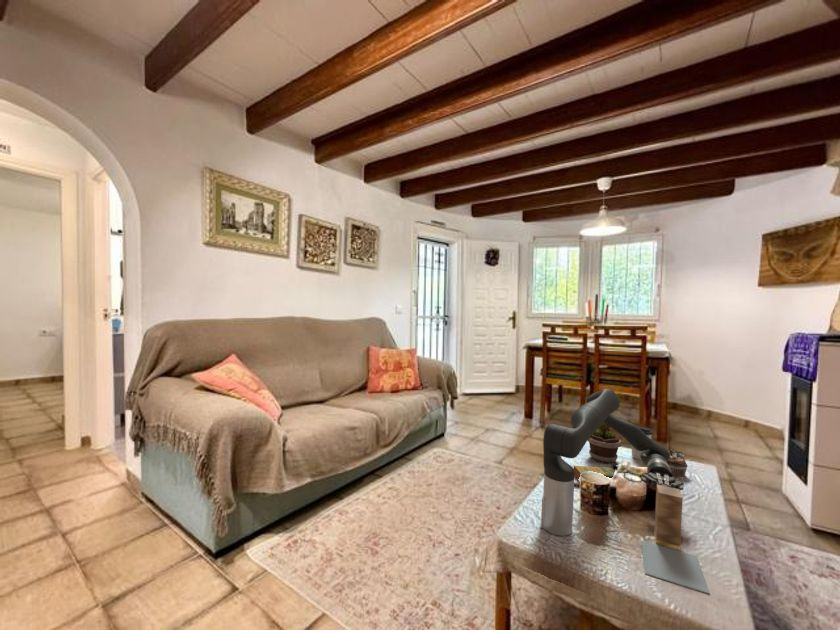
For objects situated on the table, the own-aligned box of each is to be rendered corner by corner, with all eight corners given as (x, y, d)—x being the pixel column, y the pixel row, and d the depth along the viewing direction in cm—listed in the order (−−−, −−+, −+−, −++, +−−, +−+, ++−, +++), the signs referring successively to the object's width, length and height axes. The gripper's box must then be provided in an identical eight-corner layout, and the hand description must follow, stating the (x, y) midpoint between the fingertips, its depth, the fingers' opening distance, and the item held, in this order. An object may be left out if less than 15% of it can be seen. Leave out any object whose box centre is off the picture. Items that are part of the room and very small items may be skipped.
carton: (572, 474, 159) (573, 464, 159) (610, 476, 158) (611, 466, 158) (580, 483, 151) (580, 473, 151) (620, 486, 150) (620, 475, 150)
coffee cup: (630, 451, 186) (631, 422, 185) (651, 456, 180) (653, 426, 180) (628, 457, 178) (629, 427, 178) (650, 462, 173) (651, 431, 173)
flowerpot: (619, 469, 165) (621, 425, 164) (582, 460, 173) (584, 418, 173) (622, 458, 177) (624, 417, 176) (587, 450, 185) (589, 411, 185)
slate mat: (645, 574, 100) (645, 573, 100) (641, 541, 114) (641, 540, 114) (709, 594, 93) (709, 593, 93) (696, 556, 107) (697, 555, 107)
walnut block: (656, 543, 113) (658, 492, 112) (654, 533, 118) (656, 484, 118) (679, 550, 110) (682, 497, 110) (676, 539, 115) (679, 489, 115)
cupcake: (655, 470, 164) (657, 448, 164) (668, 467, 169) (669, 445, 168) (679, 480, 156) (680, 457, 155) (691, 476, 160) (692, 453, 160)
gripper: (639, 457, 139) (642, 476, 124) (681, 465, 133) (690, 486, 118) (638, 477, 139) (641, 498, 124) (680, 486, 133) (689, 509, 118)
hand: (665, 492), depth 121 cm, fingers closed
